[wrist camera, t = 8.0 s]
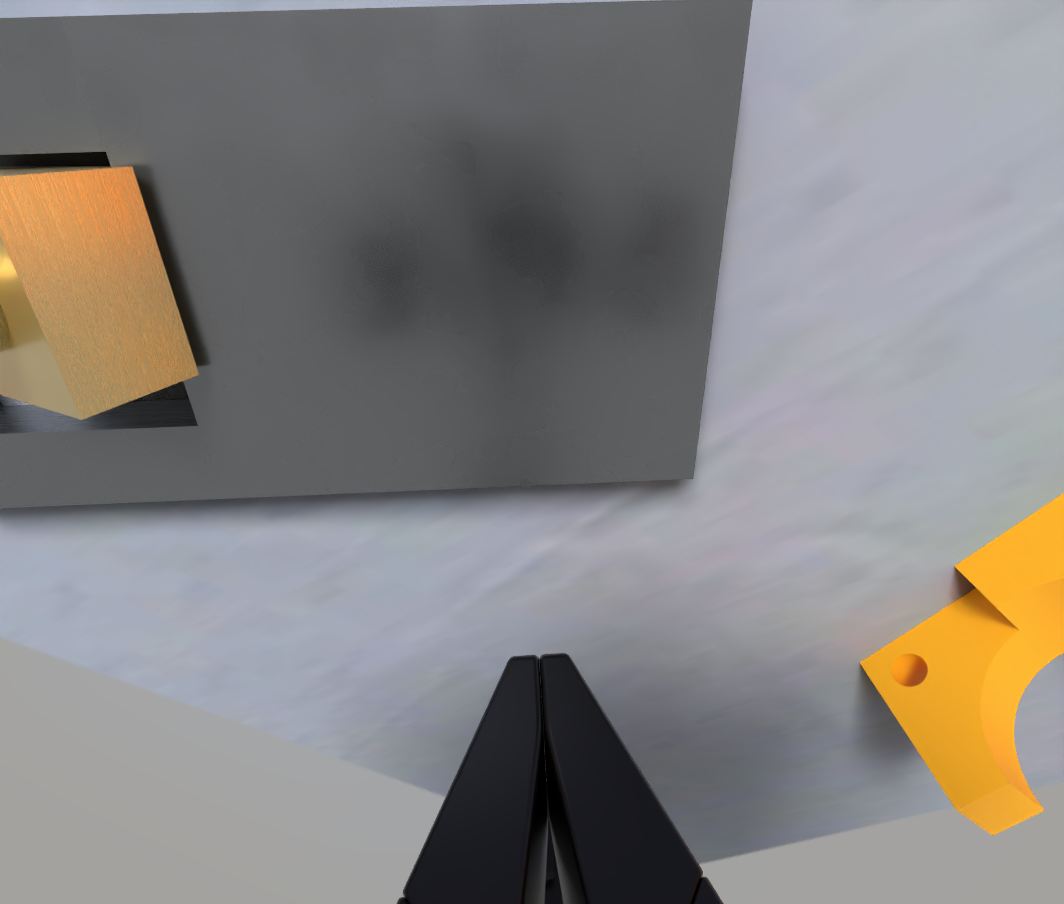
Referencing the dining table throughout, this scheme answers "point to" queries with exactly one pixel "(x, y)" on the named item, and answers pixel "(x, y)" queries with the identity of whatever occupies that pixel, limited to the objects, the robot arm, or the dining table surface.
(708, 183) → the dark grey slab
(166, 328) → the gold block with knob
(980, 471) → the dining table surface
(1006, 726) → the pipe clamp
